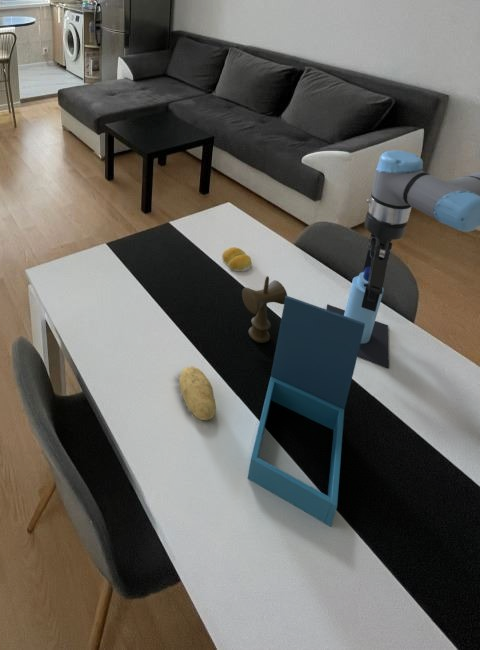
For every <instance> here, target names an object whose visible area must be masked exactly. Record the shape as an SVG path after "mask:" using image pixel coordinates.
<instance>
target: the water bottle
mask: <svg viewBox="0 0 480 650" xmlns="http://www.w3.org/2000/svg"><path fill="white" fill-rule="evenodd" d="M369 274H370V267H366V268H365V270H364V272H363V271H362V272H359V274H358V275H355V276H354V277H353V278H352V282H351V285H350V289H349V293H348V297H347V302H346V305H345V309H344V310H345V313H344V316H346V317H349V318H351V319H354V320H357V321H360V322H363V323H365V327H364V331H363V335H362V339H361V343H362V344H363V343H367V342H368V341H369V340H370V337H371V334H372V330H373V327H374V323H375V321H377V320H376V319H377V316H378V312H379V309H380V305H381V302H382V298H383V295H384V292H385V289H384V288H383V289H382V291H383V292H382V294H380V296H379V300H378V303H377V307H376V311H375V312H374V311H371V310H368V309H365V308H362V307H361V305H362V301H363V297H364V293H365V289H366V287H364V284H367V283H368V280H369Z"/></svg>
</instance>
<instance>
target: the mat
mask: <svg viewBox="0 0 480 650" xmlns="http://www.w3.org/2000/svg"><path fill="white" fill-rule="evenodd" d="M326 305H327V306H326V310H329V311H332V312H334V313H337V314H340V315H343V316H344V313H345V309H342V308H340V307H336V306H334V305H331V304H326ZM389 349H390V347H389V325H388V324H385V323H383V322H380V321H378V320H375V323H374V327H373V330H372V334H371V337H370V340H369V341H368V342H367V343H363V344H362V343H360V348H359V352H358V356H357V358H359V359H362V360H365V361H367V362H370V363H373V364H375V365H378V366H381V367H383V368H385V369H387V370H388V369H390V353H389V352H390V351H389Z"/></svg>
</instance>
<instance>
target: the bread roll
mask: <svg viewBox="0 0 480 650" xmlns="http://www.w3.org/2000/svg"><path fill="white" fill-rule="evenodd" d="M221 258H222V261H223V262H224V264H226V265H227V267H228V268H229V269H231V271H234V272H247V271H248V270H250V268H252V264H253V263H252V262H253V261H252V259H251V257H250V256H249V255H248V254H247V253H246V252H245V251H244V250H243V249H241V248H240V247H229V248H228V249H225V250H223V252H222V255H221Z"/></svg>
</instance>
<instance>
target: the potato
mask: <svg viewBox="0 0 480 650" xmlns="http://www.w3.org/2000/svg"><path fill="white" fill-rule="evenodd" d="M179 389H180V393H181V396H182V397H183V400H184V402H185V405H186V407H187V408H188V410H189V411H190V412H191V413H192V414H193V416H194V417H196V418H198V419H199V420H201V421H209V420H210V419H212V418H213V417H215V414H216V411H217V405H216V399H215V395H214V391H213V386H212V384H211V381H210V380H209V378H207V375H205V373H204V372H203V371H202V370H201V369H199V368H198V367H196V366H192V365H191V366H187V367H184V368H183V369H182V371H181V372H180V375H179Z"/></svg>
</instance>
